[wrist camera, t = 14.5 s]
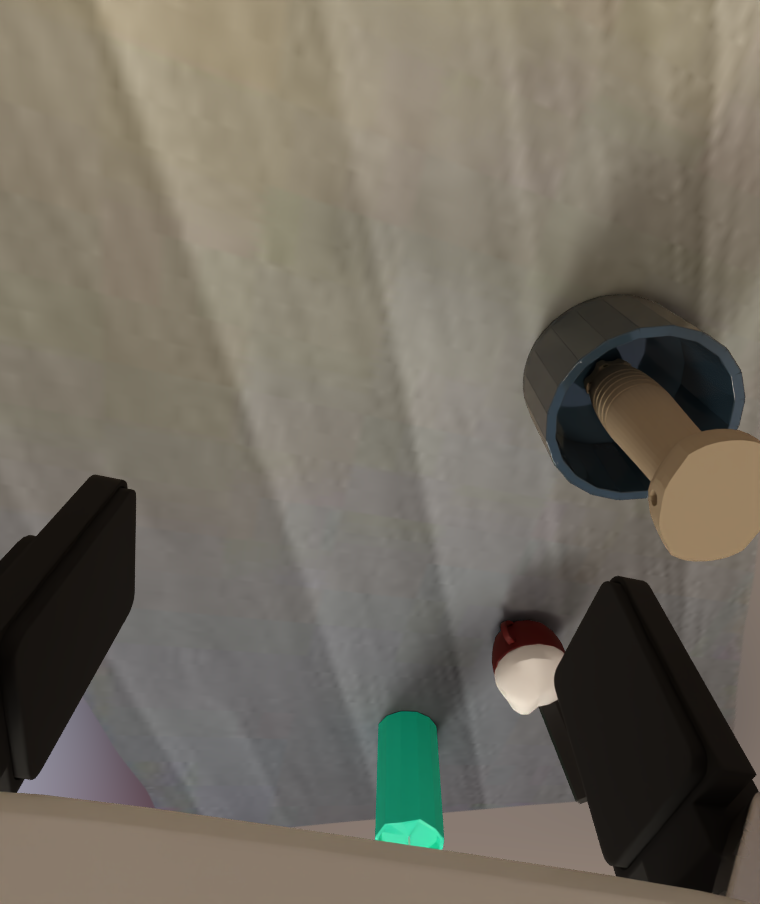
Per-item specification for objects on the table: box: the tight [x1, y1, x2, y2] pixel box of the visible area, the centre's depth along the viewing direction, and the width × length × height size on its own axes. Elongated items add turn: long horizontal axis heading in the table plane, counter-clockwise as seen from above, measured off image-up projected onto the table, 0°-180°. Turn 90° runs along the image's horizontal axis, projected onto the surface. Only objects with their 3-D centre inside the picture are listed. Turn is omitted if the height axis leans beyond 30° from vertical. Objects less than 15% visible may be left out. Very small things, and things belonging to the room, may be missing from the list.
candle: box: [375, 711, 444, 850], centre depth 52 cm, size 6×6×12 cm
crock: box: [523, 295, 745, 500], centre depth 36 cm, size 11×11×7 cm
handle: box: [584, 359, 760, 561], centre depth 32 cm, size 5×6×15 cm
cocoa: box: [492, 620, 587, 804], centre depth 46 cm, size 10×6×12 cm, turn 11°
